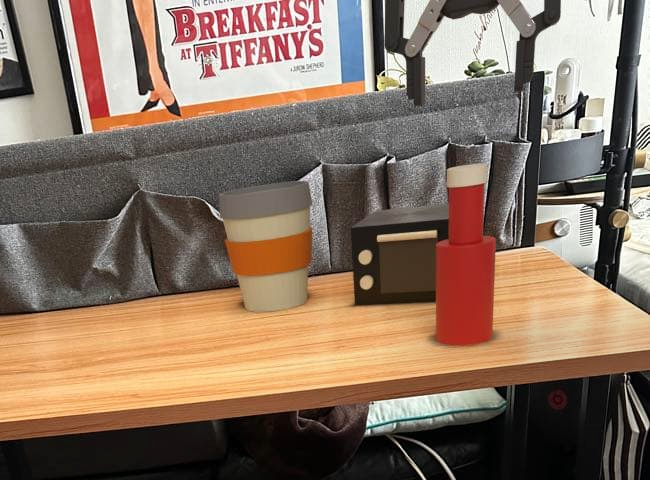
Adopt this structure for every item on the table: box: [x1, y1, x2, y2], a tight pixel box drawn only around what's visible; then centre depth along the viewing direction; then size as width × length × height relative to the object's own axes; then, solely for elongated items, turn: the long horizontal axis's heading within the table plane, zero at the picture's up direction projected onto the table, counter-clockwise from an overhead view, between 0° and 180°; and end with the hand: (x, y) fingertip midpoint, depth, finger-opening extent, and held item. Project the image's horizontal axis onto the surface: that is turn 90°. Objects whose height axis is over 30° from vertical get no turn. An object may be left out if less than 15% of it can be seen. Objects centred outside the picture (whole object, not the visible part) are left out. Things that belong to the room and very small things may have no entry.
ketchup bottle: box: [435, 163, 497, 346], centre depth 71 cm, size 6×6×16 cm
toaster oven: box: [350, 203, 449, 307], centre depth 94 cm, size 12×15×10 cm
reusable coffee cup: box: [218, 180, 313, 313], centre depth 99 cm, size 12×13×15 cm
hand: (468, 99), depth 64 cm, fingers open, 8 cm apart
